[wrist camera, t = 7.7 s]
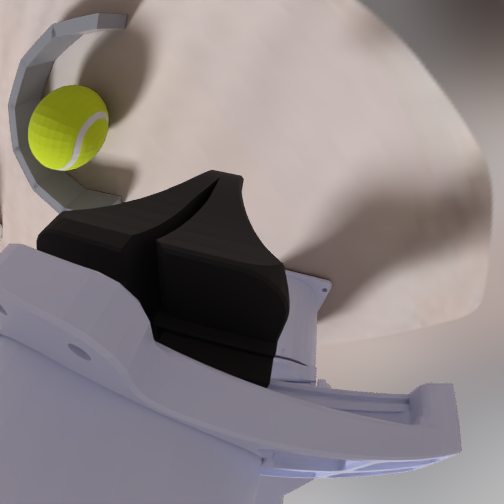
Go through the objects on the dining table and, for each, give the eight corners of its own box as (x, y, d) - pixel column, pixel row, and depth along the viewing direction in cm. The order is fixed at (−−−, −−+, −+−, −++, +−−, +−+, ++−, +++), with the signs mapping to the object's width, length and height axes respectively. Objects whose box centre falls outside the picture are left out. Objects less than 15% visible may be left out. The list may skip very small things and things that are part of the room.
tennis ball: (115, 161, 21) (67, 200, 16) (62, 137, 20) (12, 169, 15) (134, 89, 17) (76, 111, 12) (74, 71, 16) (15, 89, 11)
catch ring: (122, 207, 24) (102, 228, 22) (45, 189, 24) (25, 206, 22) (127, 14, 13) (99, 12, 11) (36, 34, 13) (8, 40, 11)
